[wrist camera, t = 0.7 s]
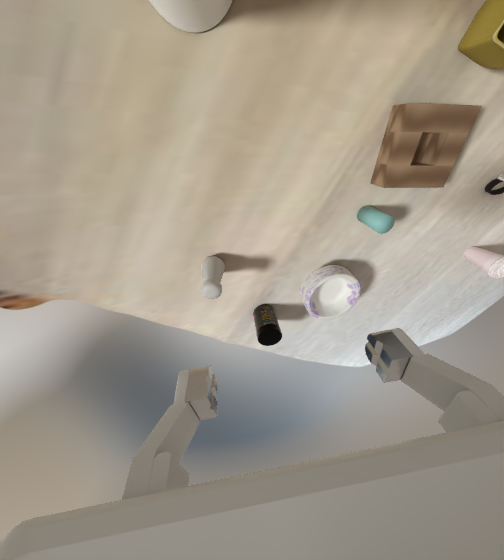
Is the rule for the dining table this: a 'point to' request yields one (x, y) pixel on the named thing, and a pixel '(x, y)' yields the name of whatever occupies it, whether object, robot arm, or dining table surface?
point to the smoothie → (486, 261)
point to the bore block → (422, 144)
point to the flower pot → (486, 36)
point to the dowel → (375, 219)
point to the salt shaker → (212, 277)
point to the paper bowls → (330, 292)
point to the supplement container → (267, 325)
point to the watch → (489, 187)
